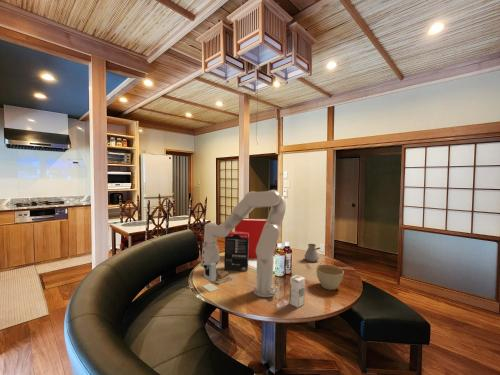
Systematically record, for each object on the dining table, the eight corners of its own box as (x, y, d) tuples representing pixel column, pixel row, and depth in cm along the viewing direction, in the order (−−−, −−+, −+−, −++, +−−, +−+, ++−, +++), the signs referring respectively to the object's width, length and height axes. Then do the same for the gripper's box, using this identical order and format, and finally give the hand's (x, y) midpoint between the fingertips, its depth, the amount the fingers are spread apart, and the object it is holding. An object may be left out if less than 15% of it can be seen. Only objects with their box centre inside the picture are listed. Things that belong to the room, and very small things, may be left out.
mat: (218, 289, 137) (218, 288, 137) (210, 292, 133) (210, 291, 133) (210, 283, 144) (210, 283, 144) (201, 286, 140) (201, 286, 140)
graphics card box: (248, 268, 171) (249, 231, 169) (247, 271, 164) (248, 233, 163) (225, 266, 172) (226, 230, 171) (223, 270, 165) (224, 232, 164)
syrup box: (295, 300, 126) (296, 274, 126) (304, 304, 122) (305, 277, 122) (289, 303, 123) (289, 276, 122) (298, 308, 118) (299, 280, 118)
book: (266, 255, 198) (267, 218, 197) (267, 258, 190) (267, 220, 189) (235, 254, 199) (235, 218, 198) (234, 258, 191) (234, 219, 190)
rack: (232, 279, 150) (232, 276, 150) (218, 284, 143) (218, 281, 143) (216, 271, 163) (216, 268, 163) (203, 275, 156) (203, 272, 156)
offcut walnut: (228, 275, 151) (228, 272, 151) (221, 279, 146) (221, 275, 146) (223, 274, 154) (223, 270, 154) (216, 277, 149) (216, 273, 149)
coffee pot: (302, 258, 194) (302, 240, 193) (315, 257, 195) (315, 240, 195) (312, 267, 173) (313, 248, 172) (326, 267, 174) (327, 247, 174)
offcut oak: (229, 280, 151) (229, 276, 151) (219, 283, 146) (219, 279, 145) (225, 277, 154) (225, 274, 154) (215, 281, 149) (215, 277, 149)
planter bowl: (325, 294, 133) (326, 275, 133) (310, 282, 149) (311, 265, 148) (349, 291, 138) (349, 273, 137) (332, 279, 153) (333, 263, 153)
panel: (215, 280, 137) (216, 263, 136) (211, 281, 135) (211, 264, 134) (208, 275, 143) (208, 259, 142) (203, 277, 140) (204, 260, 140)
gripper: (201, 248, 129) (201, 280, 130) (225, 243, 140) (224, 272, 141) (195, 245, 135) (194, 275, 136) (218, 240, 146) (217, 269, 147)
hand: (210, 274), depth 138 cm, fingers closed on panel, 3 cm apart
